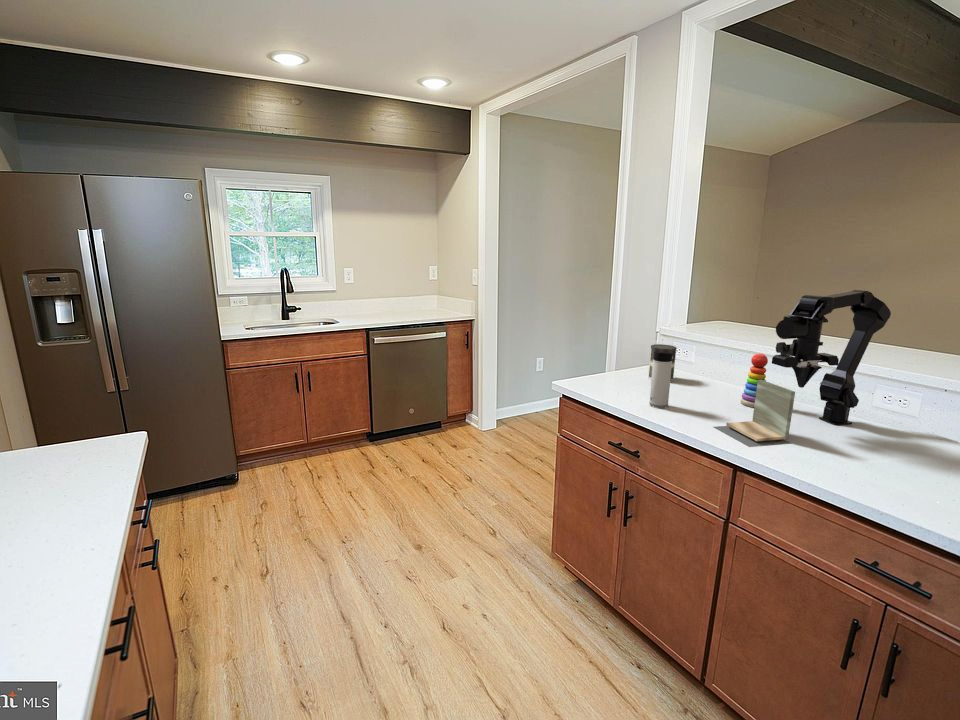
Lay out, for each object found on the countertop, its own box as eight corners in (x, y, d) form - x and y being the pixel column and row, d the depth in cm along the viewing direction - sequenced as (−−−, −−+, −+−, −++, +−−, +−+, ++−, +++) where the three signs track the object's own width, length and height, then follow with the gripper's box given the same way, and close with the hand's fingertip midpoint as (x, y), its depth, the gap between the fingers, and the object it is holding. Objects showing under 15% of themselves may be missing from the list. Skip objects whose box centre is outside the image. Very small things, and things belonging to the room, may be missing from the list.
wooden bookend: (755, 425, 153) (761, 379, 150) (787, 441, 141) (795, 391, 137) (726, 427, 151) (731, 381, 148) (756, 443, 139) (763, 393, 136)
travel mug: (648, 407, 172) (653, 351, 167) (649, 402, 178) (654, 348, 173) (667, 409, 169) (672, 353, 165) (668, 404, 175) (673, 349, 171)
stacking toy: (763, 409, 169) (771, 357, 165) (738, 405, 174) (744, 354, 170) (766, 404, 175) (774, 353, 171) (742, 400, 180) (748, 350, 176)
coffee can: (675, 382, 204) (679, 349, 201) (650, 381, 206) (653, 348, 202) (670, 376, 214) (673, 344, 211) (646, 375, 216) (648, 343, 212)
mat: (751, 424, 155) (752, 424, 155) (792, 444, 139) (792, 443, 139) (712, 427, 152) (712, 426, 152) (749, 447, 137) (749, 446, 137)
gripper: (812, 332, 156) (805, 379, 160) (761, 333, 153) (755, 381, 156) (844, 338, 145) (835, 388, 149) (790, 340, 142) (782, 391, 146)
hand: (800, 387), depth 150 cm, fingers closed
